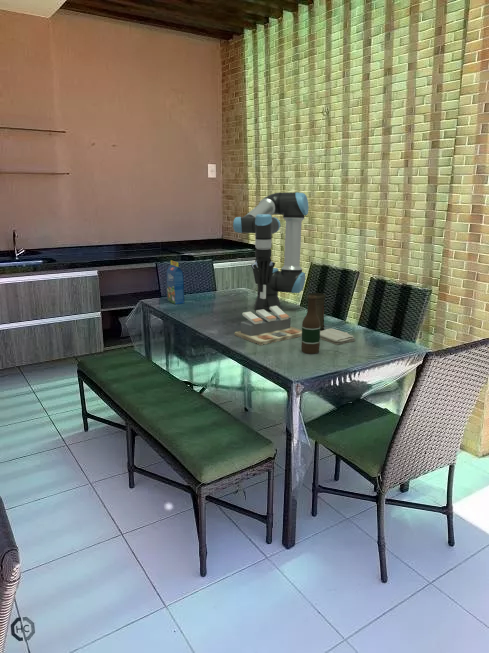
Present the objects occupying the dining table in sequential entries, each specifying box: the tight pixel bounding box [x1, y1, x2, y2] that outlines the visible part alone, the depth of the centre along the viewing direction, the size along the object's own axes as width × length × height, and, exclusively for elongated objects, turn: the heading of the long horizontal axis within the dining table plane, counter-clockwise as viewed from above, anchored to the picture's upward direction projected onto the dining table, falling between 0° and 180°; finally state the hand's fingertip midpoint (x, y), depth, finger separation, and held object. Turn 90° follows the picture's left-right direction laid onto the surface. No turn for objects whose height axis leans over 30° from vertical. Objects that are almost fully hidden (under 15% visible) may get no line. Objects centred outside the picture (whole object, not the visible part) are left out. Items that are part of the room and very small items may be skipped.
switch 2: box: [269, 306, 290, 320], centre depth 240 cm, size 4×10×2 cm, turn 36°
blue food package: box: [166, 259, 185, 305], centre depth 301 cm, size 6×12×25 cm, turn 31°
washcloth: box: [320, 328, 356, 346], centre depth 229 cm, size 12×18×3 cm, turn 34°
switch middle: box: [255, 309, 276, 322], centre depth 236 cm, size 4×10×2 cm, turn 36°
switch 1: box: [242, 311, 263, 324], centre depth 231 cm, size 4×10×2 cm, turn 36°
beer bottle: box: [301, 295, 321, 355], centre depth 208 cm, size 8×8×24 cm
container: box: [307, 292, 327, 331], centre depth 239 cm, size 9×9×18 cm
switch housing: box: [239, 315, 292, 336], centre depth 237 cm, size 24×8×5 cm, turn 126°
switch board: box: [234, 325, 302, 346], centre depth 234 cm, size 28×20×2 cm
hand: (262, 298), depth 236 cm, fingers closed
